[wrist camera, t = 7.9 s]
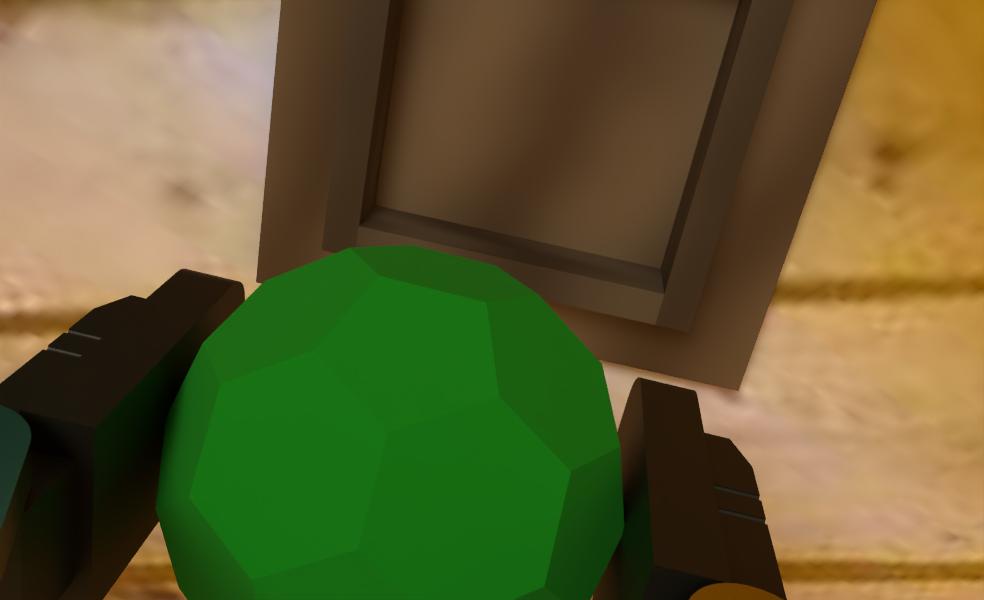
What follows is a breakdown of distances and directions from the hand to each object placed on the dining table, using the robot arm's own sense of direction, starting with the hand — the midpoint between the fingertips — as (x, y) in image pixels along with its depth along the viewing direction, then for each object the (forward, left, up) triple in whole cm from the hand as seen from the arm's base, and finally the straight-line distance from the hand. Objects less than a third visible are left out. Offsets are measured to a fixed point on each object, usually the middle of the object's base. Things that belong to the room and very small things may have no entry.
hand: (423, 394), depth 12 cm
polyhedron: (0, 0, -1) cm, 1 cm away
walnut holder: (+1, +1, -17) cm, 17 cm away
